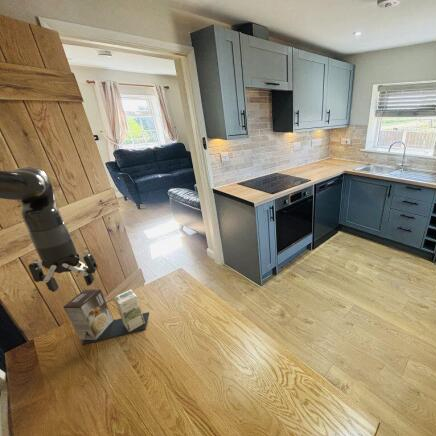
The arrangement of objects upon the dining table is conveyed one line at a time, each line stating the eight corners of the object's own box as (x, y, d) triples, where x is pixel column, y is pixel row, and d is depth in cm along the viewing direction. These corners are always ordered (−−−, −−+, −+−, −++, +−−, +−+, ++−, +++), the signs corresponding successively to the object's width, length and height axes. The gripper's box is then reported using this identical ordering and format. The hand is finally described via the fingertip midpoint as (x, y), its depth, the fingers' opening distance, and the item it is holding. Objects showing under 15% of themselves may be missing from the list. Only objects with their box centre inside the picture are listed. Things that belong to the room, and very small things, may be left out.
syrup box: (139, 316, 97) (130, 288, 91) (145, 324, 94) (136, 295, 88) (123, 325, 93) (113, 296, 87) (129, 333, 90) (118, 303, 84)
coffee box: (98, 320, 95) (84, 288, 89) (113, 320, 95) (101, 288, 88) (78, 340, 87) (62, 306, 80) (96, 340, 87) (81, 307, 80)
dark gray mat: (82, 345, 85) (81, 344, 85) (91, 326, 93) (91, 325, 93) (145, 329, 92) (145, 328, 92) (149, 313, 100) (148, 312, 99)
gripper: (10, 251, 60) (36, 300, 67) (78, 242, 65) (97, 289, 72) (27, 238, 67) (50, 284, 73) (89, 231, 72) (105, 275, 78)
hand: (73, 286), depth 72 cm, fingers open, 8 cm apart
